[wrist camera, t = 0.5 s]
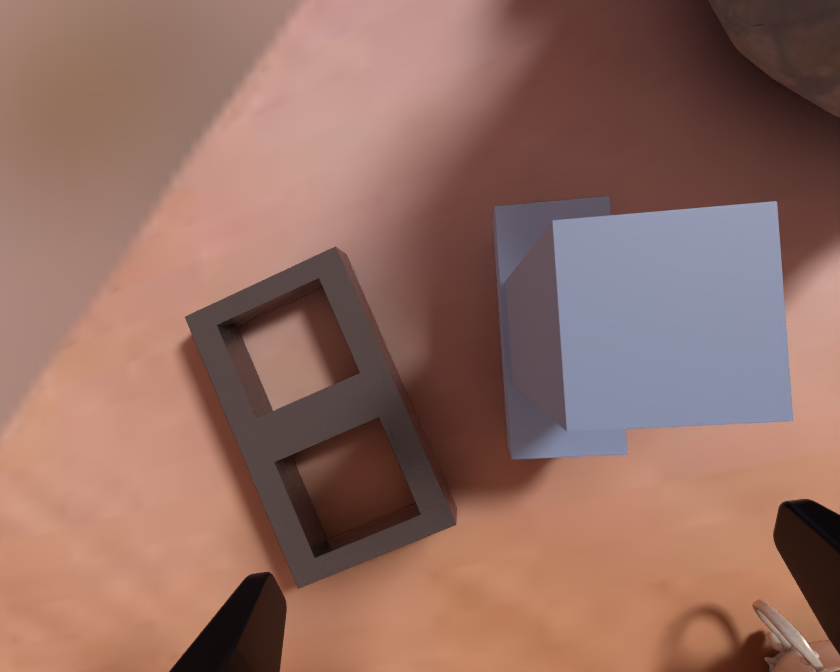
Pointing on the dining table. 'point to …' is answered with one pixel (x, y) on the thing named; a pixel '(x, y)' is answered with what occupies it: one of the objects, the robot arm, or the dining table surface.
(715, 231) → the blue-gray inverted t block
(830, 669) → the chinaware
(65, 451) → the dining table surface
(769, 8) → the vessel
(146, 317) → the dining table surface
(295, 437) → the rail
